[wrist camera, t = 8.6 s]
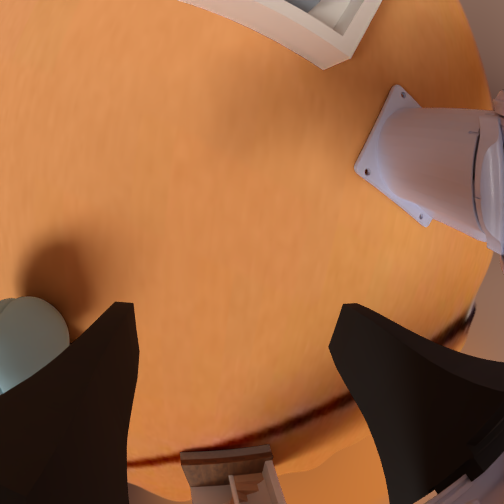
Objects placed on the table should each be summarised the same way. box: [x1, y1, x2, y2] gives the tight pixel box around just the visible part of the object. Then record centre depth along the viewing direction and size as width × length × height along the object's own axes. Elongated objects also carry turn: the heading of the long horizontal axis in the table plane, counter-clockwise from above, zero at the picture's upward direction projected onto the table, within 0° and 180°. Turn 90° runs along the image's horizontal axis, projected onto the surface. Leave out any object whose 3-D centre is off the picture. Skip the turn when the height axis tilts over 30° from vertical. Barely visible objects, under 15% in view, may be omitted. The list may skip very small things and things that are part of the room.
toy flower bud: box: [0, 296, 70, 395], centre depth 14 cm, size 7×9×12 cm
